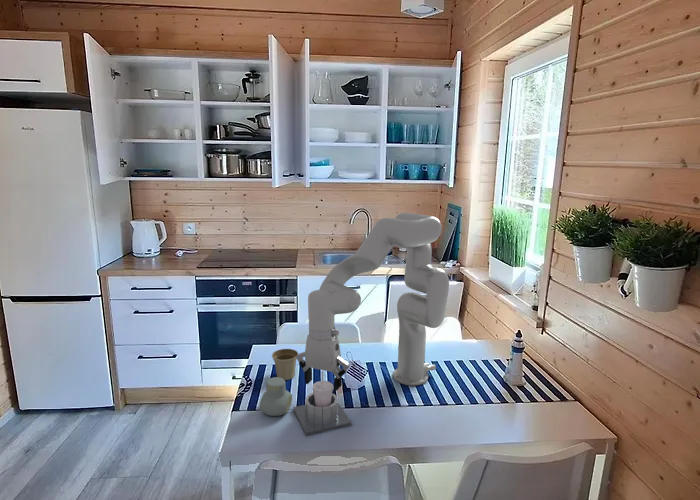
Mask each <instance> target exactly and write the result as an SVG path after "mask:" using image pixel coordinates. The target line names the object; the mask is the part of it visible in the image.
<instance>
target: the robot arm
mask: <svg viewBox="0 0 700 500" xmlns="http://www.w3.org/2000/svg"><path fill="white" fill-rule="evenodd" d="M442 229H443V228H442V223H441V221H440V219H438V218H437V217H435V216H432V215H427V214H419V213H414V212H401V213H398V214H397V215H396V216H395V218H394V217H383V218H380V219H379V220H377V221H376V223H375V225H374V226H373V228H372V229H371V230H370V231H369V233H368V234H367V236H366V238H365V239H364V240H363V242H362V244H360V246H359V248H358V249H357V250H356V252H355V253H353V254H352V255H349V256H348V257H346V258H345V259H343V260H342V261H340V262H339V263H337V264H335V266H333V268H331V270H330V271H329V273H327V275H326V276H325V278H324V280H322V282H321V285H320V286H319V289H316V290H311V292H309V294H308V296H307V304H308V305H307V307H308V308H307V311H308V314H307V315H308V335H307V336H306V340H305V341H306V342H305V347H304V348H305V349H304V350H305V351H302V352H300V353H298V355H297V356H296V358H297V360H296V361H297V362H298V365H299V366H300V367H301V369H302V371H303V372H304V374H303V375H304V380H305V381H304V384H305V385H309V383H311V381H312V380H313V369H316V370H319V371H325V372H330V373H332V374H333V375H334V379H333V388H334V389H333V391H335V392H337V391H338V390H339V389H340V388H341V387H342V385H343V378H342V377H343V376H344V375H346V373H347V372H348V370H349V369H350V367H351V364H350V363H349V362H348V361H346V360H345V359H344V358H342V356H341V347H340V342H339V338H338V336H339V334H340V332H339V331H338V330H336V325H335V322H336V321H335V320H336V319H335V315H344V314H350V313H353V312H355V311H356V310H357V309H358V308H359V307H360V306H361V302H362V298H361V294H360V293H359V292H358V291H357V290H355V289H354V288H352V287H350V286H346V285H345V284H346V283H347V282H348V281H349V280H350V279H352V278H353V277H355V276H357V275H360V274H363V273H369V272H372V271H376V270H378V269H379V268H380V267H381V265H382V263H383V262H384V260H386V258H387V256H388V254H389V253H390V251H391V250H392V248H394V247H397V248H401V249H406V257H405V258H406V259H405V269H404V284H405V286H406V287H407V288H408V289H411V290H414V291H416V292H419V293H416V292H412V291H411V292H410V291H409V292H405V293H403V294H401V295H400V296H399V297H398V300H397V303H396V311H397V312H396V313H397V317H398V349H397V350H398V351H397V368H396V369H394V370H393V372H392V377H393V379H394V380H395V381H396V382H397V383H400V384H402V385H405V386H413V387H414V386H420V385H424V384H426V383H427V381H428V380H429V374H428V373H429V371H436V370H437V366H436V365H435V364H430V363H429V362H425V361H426V360H425V359H426V356H425V355H426V340H427V329H426V327H427V328H430V329H437V328H439V327H440V326H441V325H443V322H444V320H445V318H446V315H447V314H446V312H447V307H448V300H449V299H448V298H449V292H450V291H449V290H450V279H449V274H448V273H447V272H446V271H445V270H444V269H443V268H440V267H436V266H433V265H432V255H433V254H432V252H433V251H432V249H433V248H432V243H434V242H436V241H437V240H438V239H439V237H441V234H442ZM420 293H423V294H425V295H422V294H420ZM340 366H342V369H341V367H340Z"/></svg>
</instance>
